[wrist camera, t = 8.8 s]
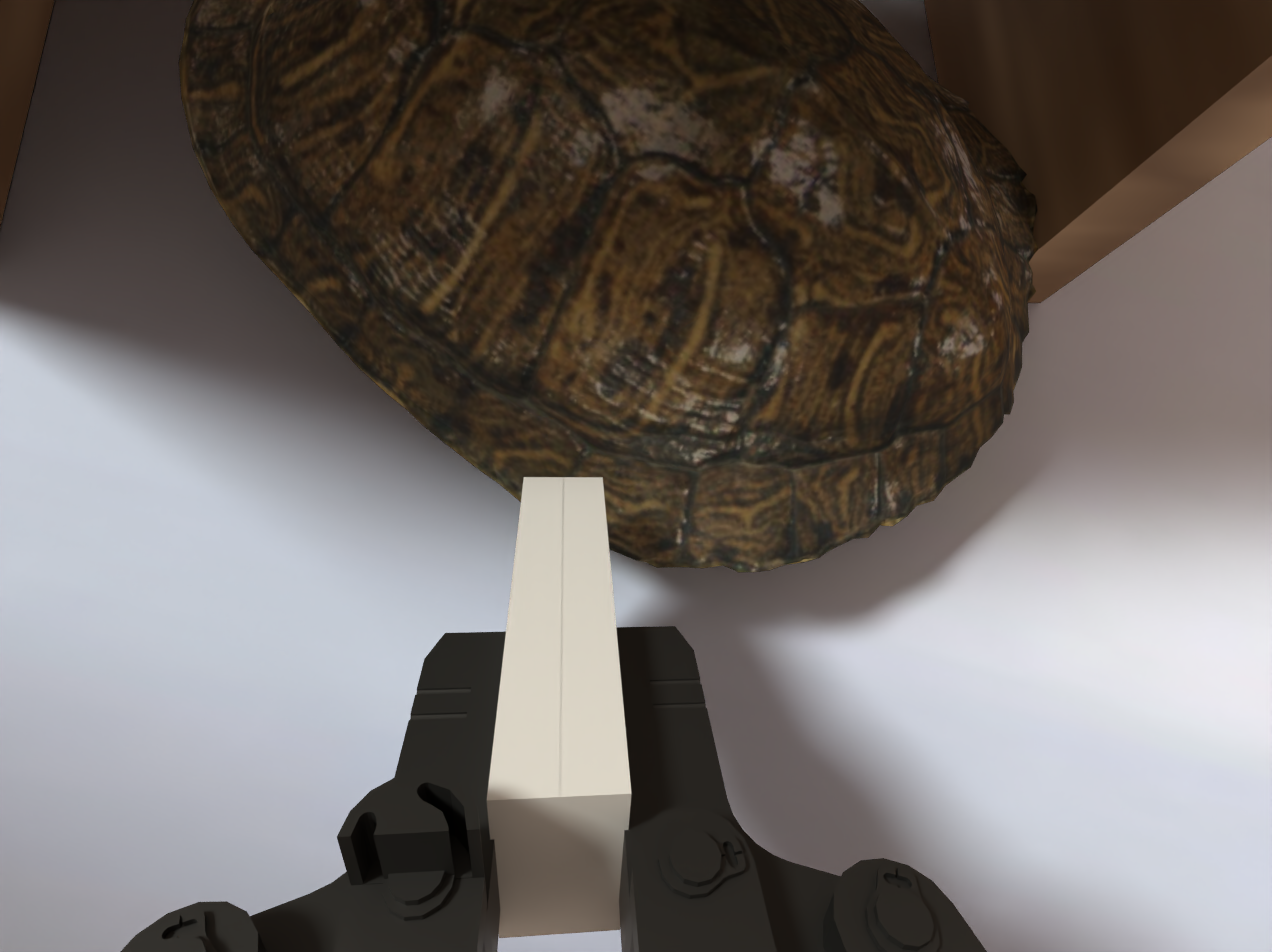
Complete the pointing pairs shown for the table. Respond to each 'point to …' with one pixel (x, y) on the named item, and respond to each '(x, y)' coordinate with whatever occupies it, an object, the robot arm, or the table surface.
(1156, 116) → the walnut shelf
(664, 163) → the turtle shell
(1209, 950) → the table surface
